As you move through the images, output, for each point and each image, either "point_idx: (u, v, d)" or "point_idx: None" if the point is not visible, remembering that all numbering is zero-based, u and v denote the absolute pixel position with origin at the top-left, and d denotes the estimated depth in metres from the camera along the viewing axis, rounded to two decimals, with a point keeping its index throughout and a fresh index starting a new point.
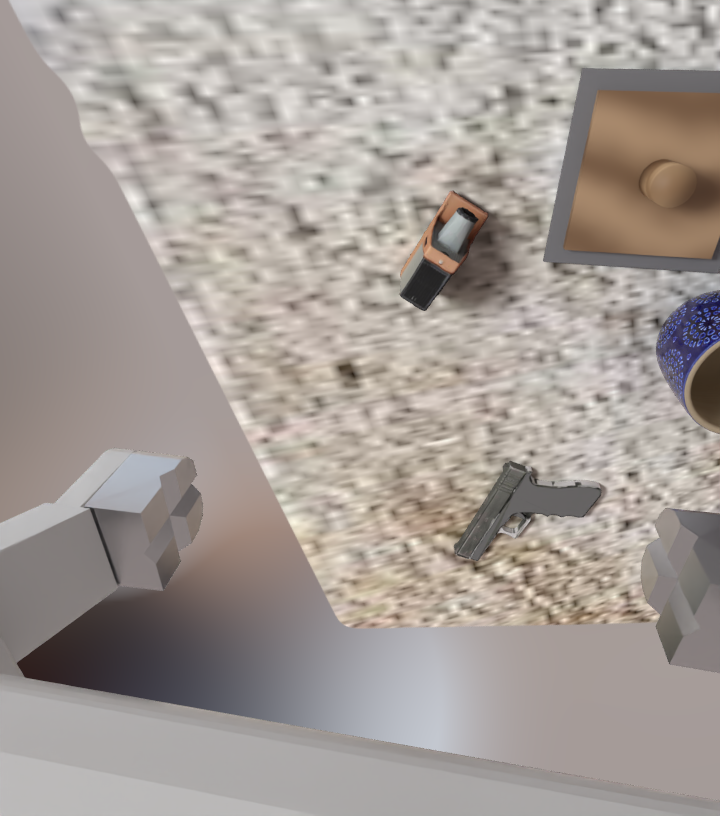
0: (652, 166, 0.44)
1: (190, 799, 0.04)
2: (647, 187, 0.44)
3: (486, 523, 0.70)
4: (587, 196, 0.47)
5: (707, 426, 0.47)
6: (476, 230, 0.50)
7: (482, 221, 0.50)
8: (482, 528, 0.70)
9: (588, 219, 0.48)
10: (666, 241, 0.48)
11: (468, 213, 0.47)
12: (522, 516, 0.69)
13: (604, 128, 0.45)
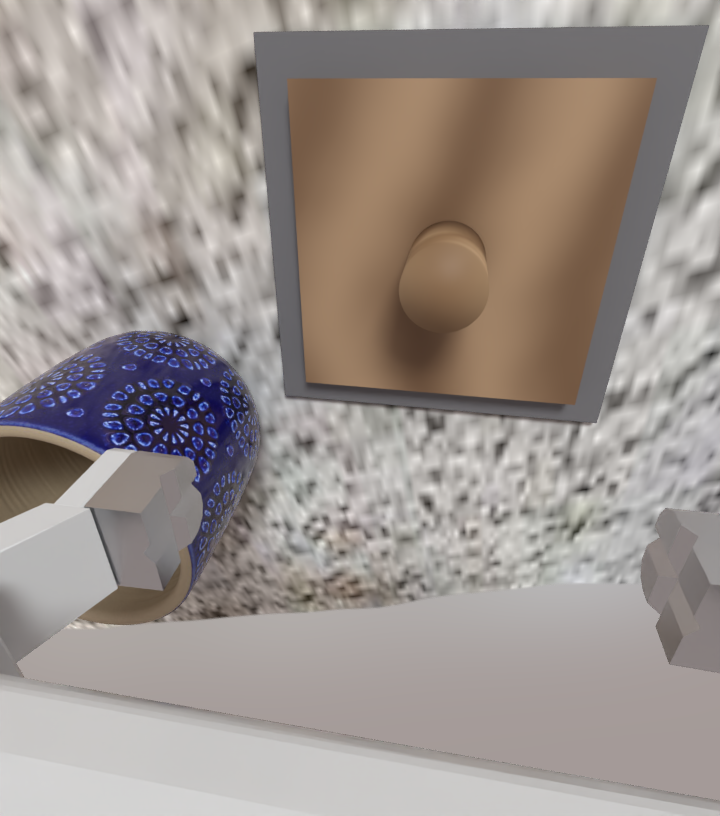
0: (477, 239, 0.21)
1: (190, 799, 0.04)
2: (439, 237, 0.19)
3: None
4: (413, 108, 0.20)
5: None
6: None
7: None
8: None
9: (362, 124, 0.20)
10: (328, 303, 0.24)
11: None
12: None
13: (567, 111, 0.19)
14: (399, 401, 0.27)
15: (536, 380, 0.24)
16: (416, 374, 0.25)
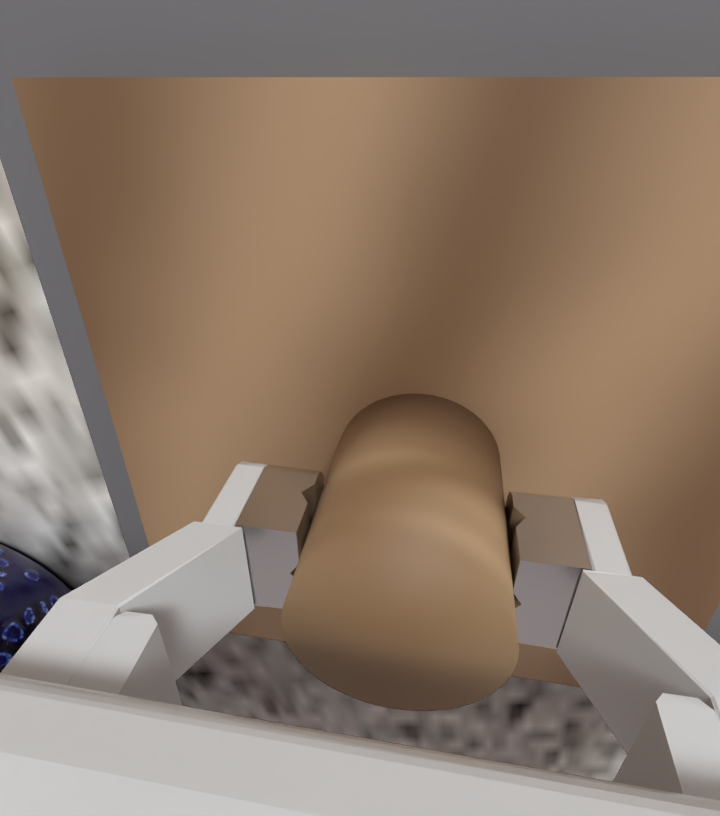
0: (483, 451, 0.09)
1: (190, 799, 0.04)
2: (387, 483, 0.08)
3: None
4: (324, 153, 0.08)
5: None
6: None
7: None
8: None
9: (205, 188, 0.08)
10: (190, 517, 0.12)
11: None
12: None
13: None
14: None
15: None
16: None
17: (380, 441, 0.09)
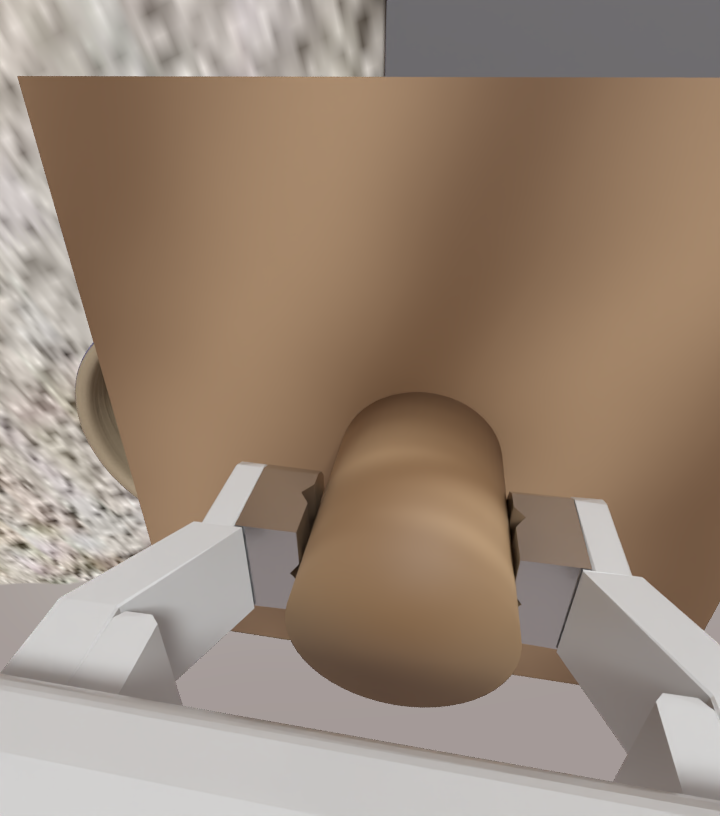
0: (486, 450, 0.09)
1: (190, 799, 0.04)
2: (390, 481, 0.08)
3: None
4: (328, 152, 0.08)
5: (81, 382, 0.21)
6: None
7: None
8: None
9: (210, 187, 0.08)
10: (193, 514, 0.12)
11: None
12: None
13: None
14: None
15: None
16: None
17: (383, 439, 0.09)
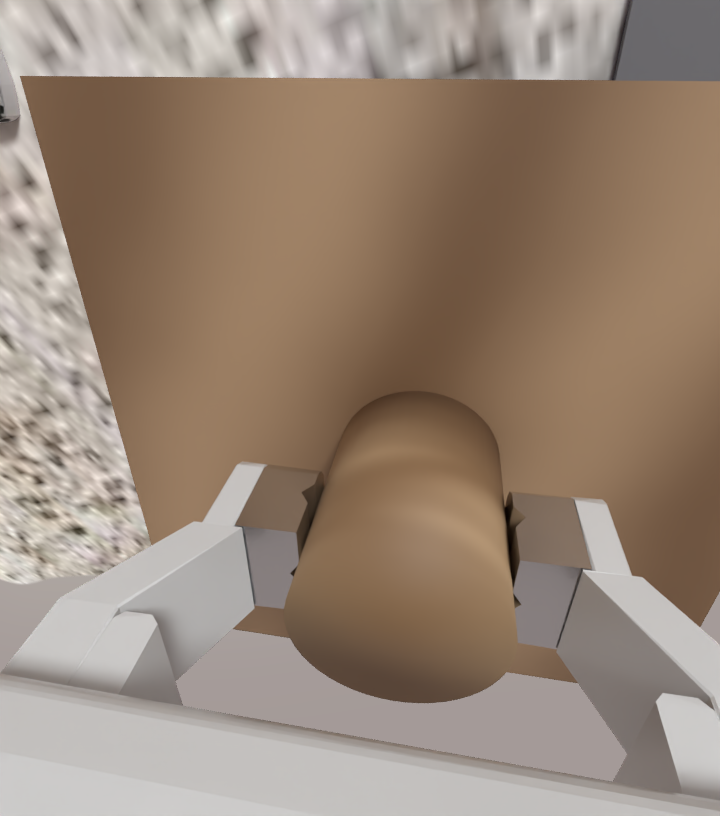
0: (483, 449, 0.09)
1: (190, 799, 0.04)
2: (388, 478, 0.08)
3: None
4: (328, 152, 0.08)
5: None
6: None
7: None
8: None
9: (211, 187, 0.08)
10: (192, 512, 0.12)
11: None
12: None
13: None
14: None
15: None
16: None
17: (382, 438, 0.09)
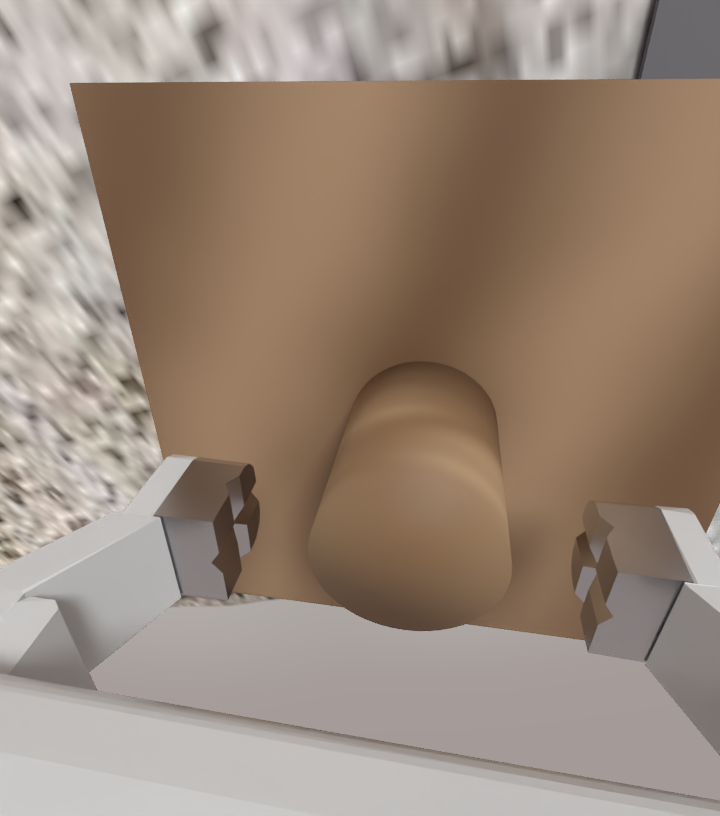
0: (482, 410, 0.10)
1: (190, 799, 0.04)
2: (398, 431, 0.09)
3: None
4: (341, 146, 0.09)
5: None
6: None
7: None
8: None
9: (237, 179, 0.10)
10: None
11: None
12: None
13: (684, 156, 0.08)
14: None
15: None
16: None
17: (391, 400, 0.10)
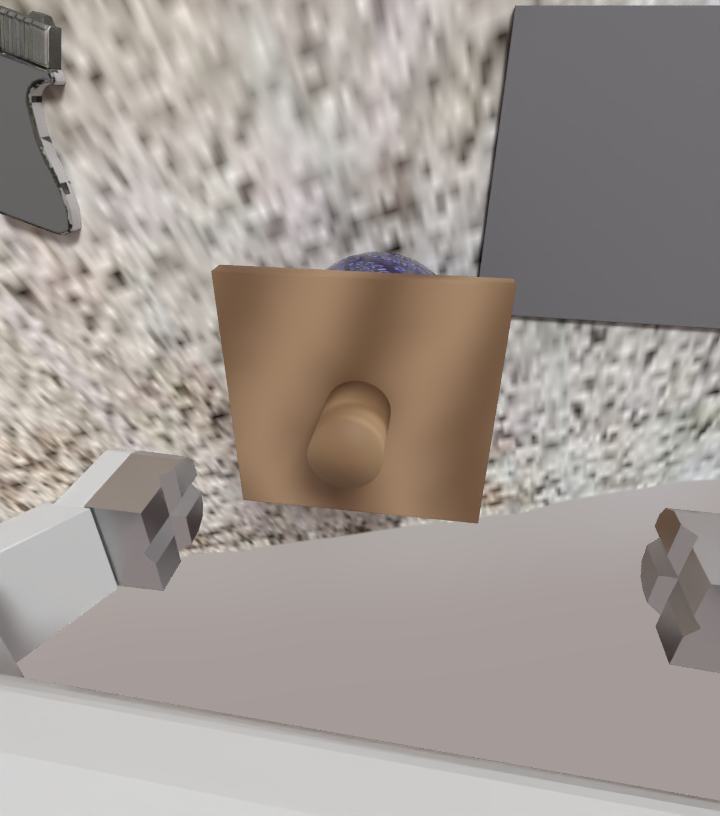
0: (379, 401, 0.24)
1: (190, 799, 0.04)
2: (341, 409, 0.23)
3: None
4: (320, 298, 0.23)
5: None
6: None
7: None
8: None
9: (277, 307, 0.23)
10: (259, 439, 0.27)
11: None
12: None
13: (446, 306, 0.22)
14: (573, 315, 0.34)
15: (443, 503, 0.28)
16: (339, 496, 0.29)
17: (340, 397, 0.24)
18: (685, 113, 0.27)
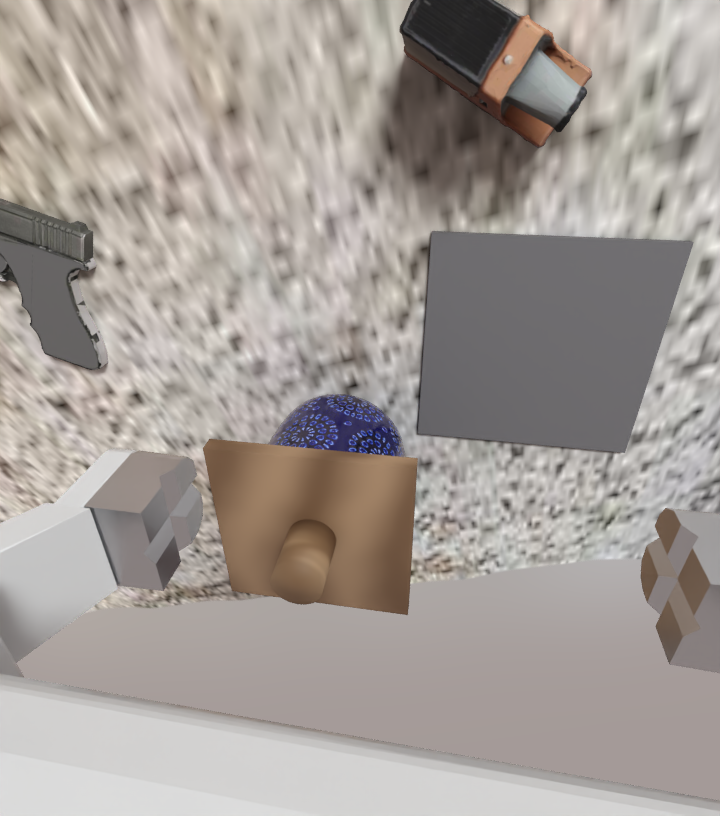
0: (325, 538, 0.33)
1: (190, 799, 0.04)
2: (295, 549, 0.32)
3: None
4: (280, 468, 0.32)
5: None
6: (519, 128, 0.30)
7: (532, 137, 0.30)
8: None
9: (250, 472, 0.33)
10: (241, 552, 0.37)
11: None
12: (2, 267, 0.41)
13: (369, 478, 0.31)
14: (495, 438, 0.42)
15: (380, 600, 0.37)
16: None
17: (296, 536, 0.33)
18: (565, 305, 0.36)
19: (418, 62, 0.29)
